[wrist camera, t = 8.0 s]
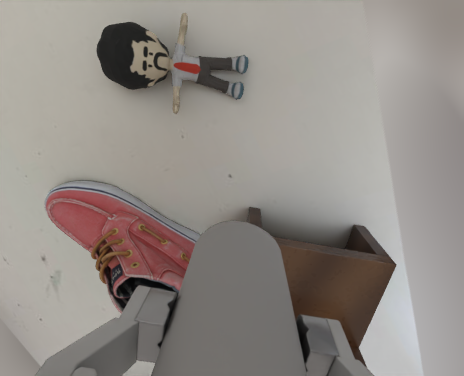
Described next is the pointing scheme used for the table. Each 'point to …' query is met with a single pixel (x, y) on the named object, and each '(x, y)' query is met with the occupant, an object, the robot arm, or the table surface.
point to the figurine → (160, 61)
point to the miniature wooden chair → (336, 279)
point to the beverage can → (233, 310)
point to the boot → (122, 237)
